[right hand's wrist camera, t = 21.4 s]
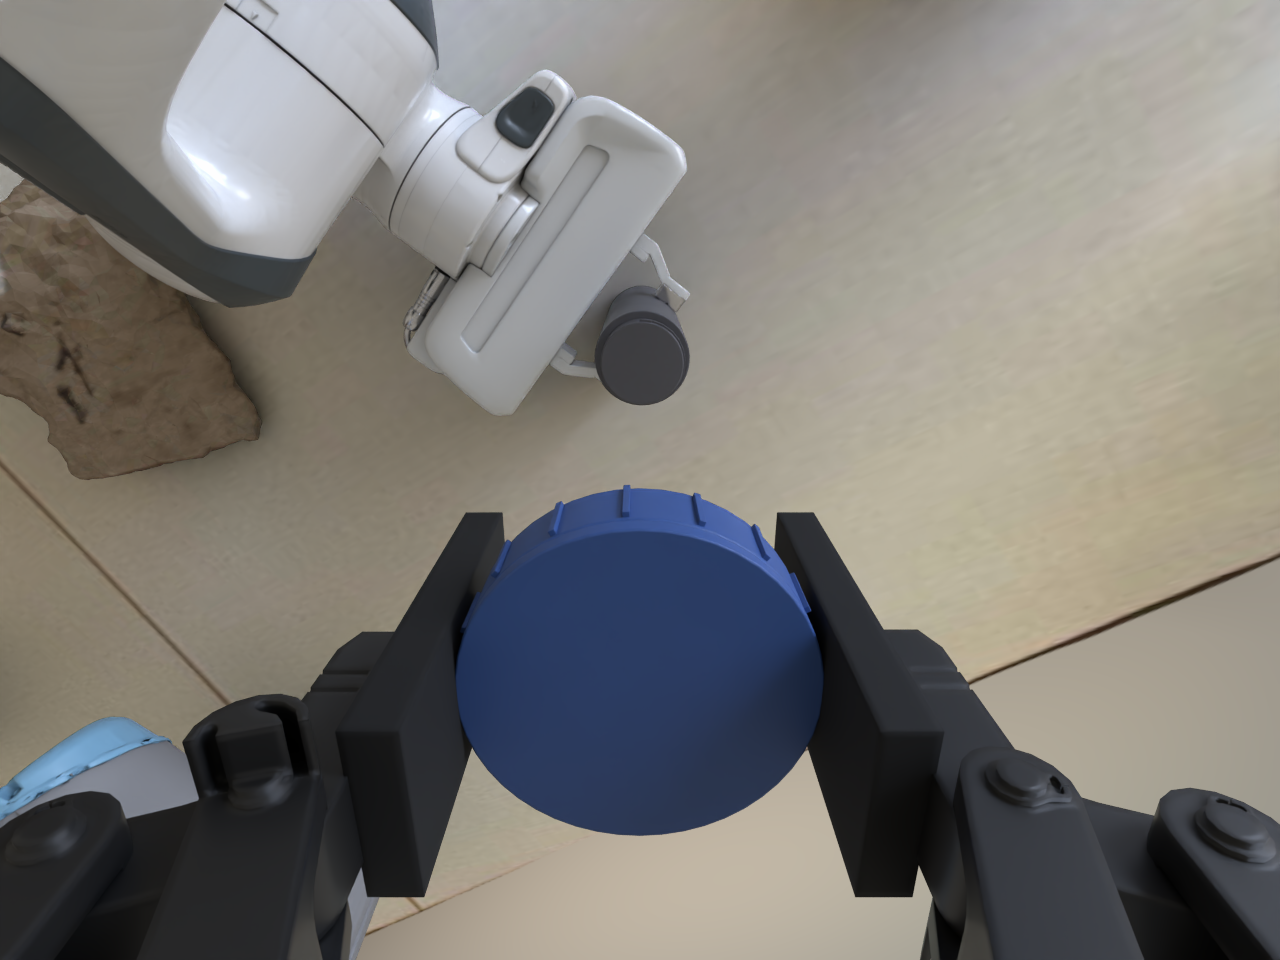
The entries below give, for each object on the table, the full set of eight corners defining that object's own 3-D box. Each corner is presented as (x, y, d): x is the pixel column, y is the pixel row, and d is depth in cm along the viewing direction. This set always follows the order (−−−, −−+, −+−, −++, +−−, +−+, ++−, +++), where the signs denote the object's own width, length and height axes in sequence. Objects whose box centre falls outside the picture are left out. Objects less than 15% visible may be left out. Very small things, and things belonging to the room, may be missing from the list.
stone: (-104, 210, 45) (-175, 218, 40) (124, 140, 46) (85, 139, 41) (104, 478, 55) (70, 513, 50) (286, 413, 57) (271, 440, 51)
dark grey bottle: (672, 358, 52) (686, 415, 36) (605, 353, 52) (590, 408, 36) (679, 288, 50) (696, 318, 35) (609, 283, 50) (595, 309, 34)
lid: (672, 415, 11) (678, 447, 9) (865, 662, 12) (897, 724, 11) (406, 612, 12) (372, 669, 10) (613, 812, 14) (609, 888, 12)
